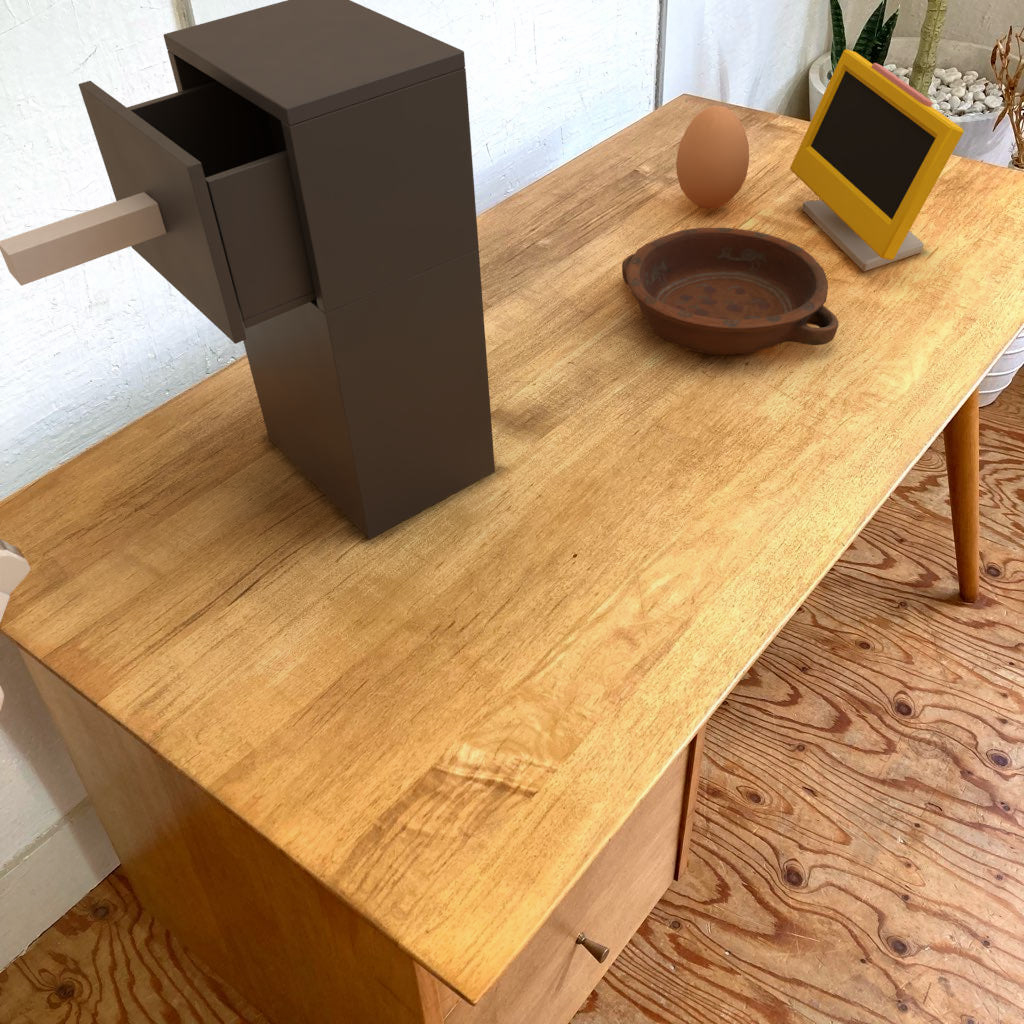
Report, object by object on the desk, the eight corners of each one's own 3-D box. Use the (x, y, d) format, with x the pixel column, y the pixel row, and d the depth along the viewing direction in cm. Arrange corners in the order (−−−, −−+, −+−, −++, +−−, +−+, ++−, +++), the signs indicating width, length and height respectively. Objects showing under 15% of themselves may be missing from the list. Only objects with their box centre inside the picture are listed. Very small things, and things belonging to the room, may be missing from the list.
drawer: (92, 406, 59) (19, 223, 52) (1, 295, 68) (-72, 126, 61) (397, 277, 68) (374, 103, 60) (281, 194, 77) (248, 35, 70)
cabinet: (369, 539, 79) (285, 108, 57) (268, 438, 89) (162, 33, 66) (495, 471, 85) (464, 50, 62) (387, 382, 94) (326, -12, 71)
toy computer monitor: (784, 197, 116) (806, 51, 105) (850, 186, 117) (878, 40, 106) (874, 289, 101) (909, 130, 91) (947, 276, 103) (991, 117, 92)
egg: (757, 201, 115) (769, 103, 108) (719, 229, 111) (729, 129, 104) (698, 183, 119) (706, 87, 112) (659, 209, 115) (665, 111, 108)
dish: (788, 405, 89) (797, 356, 86) (571, 327, 99) (571, 281, 96) (869, 309, 99) (879, 262, 96) (664, 247, 109) (667, 203, 106)
